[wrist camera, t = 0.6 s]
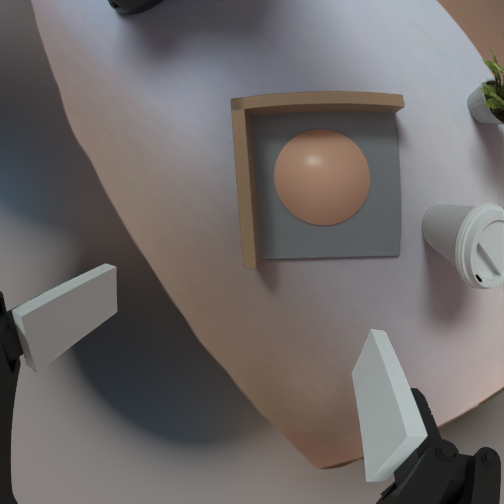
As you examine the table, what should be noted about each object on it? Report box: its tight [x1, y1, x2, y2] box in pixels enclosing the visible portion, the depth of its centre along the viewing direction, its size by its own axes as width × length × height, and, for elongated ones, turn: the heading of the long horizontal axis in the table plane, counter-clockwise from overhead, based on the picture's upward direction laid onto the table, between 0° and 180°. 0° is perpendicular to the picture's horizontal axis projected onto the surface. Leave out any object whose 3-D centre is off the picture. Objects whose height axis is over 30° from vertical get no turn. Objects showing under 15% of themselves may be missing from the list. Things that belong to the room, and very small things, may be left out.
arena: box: [231, 91, 404, 269], centre depth 33 cm, size 22×22×5 cm
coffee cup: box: [422, 203, 504, 289], centre depth 27 cm, size 10×10×15 cm
